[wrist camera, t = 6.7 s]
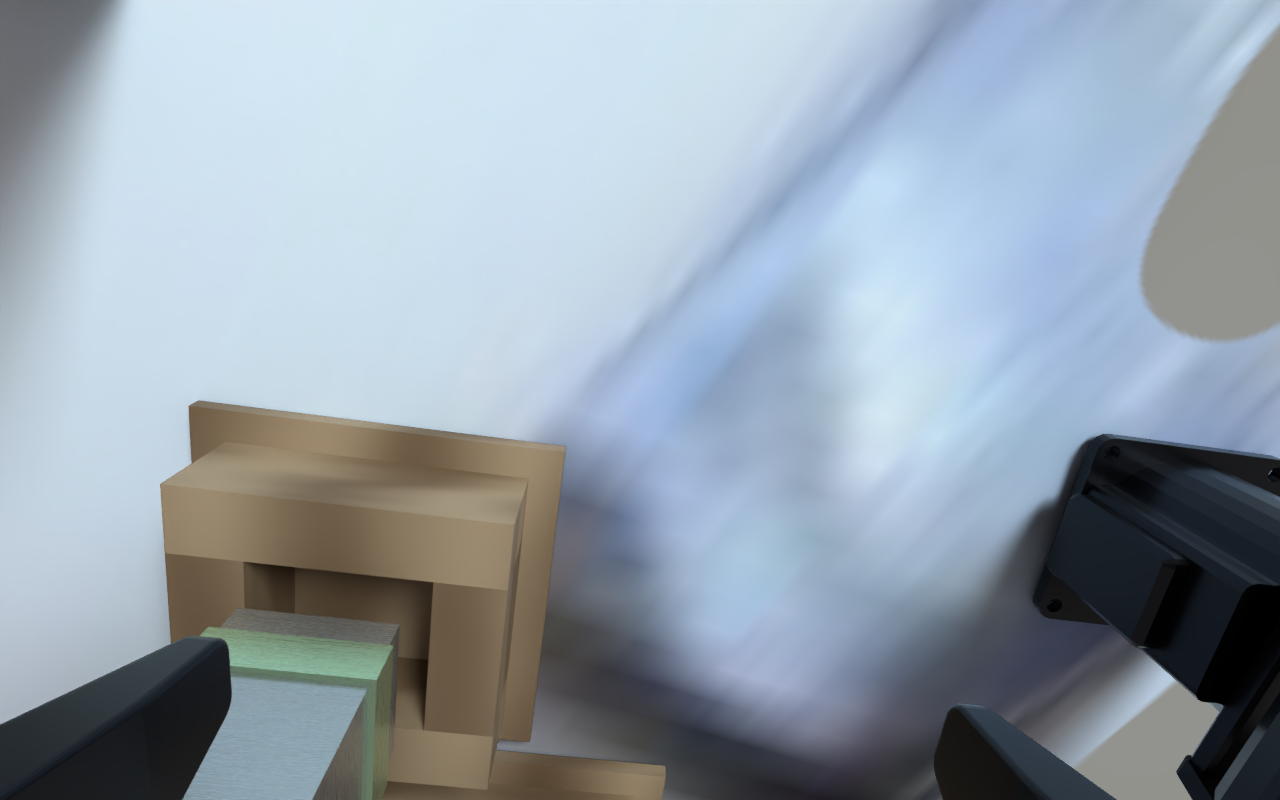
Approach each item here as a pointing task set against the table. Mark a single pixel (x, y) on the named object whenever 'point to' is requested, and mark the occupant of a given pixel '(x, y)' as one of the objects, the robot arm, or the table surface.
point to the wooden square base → (547, 781)
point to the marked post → (303, 709)
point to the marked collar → (379, 560)
